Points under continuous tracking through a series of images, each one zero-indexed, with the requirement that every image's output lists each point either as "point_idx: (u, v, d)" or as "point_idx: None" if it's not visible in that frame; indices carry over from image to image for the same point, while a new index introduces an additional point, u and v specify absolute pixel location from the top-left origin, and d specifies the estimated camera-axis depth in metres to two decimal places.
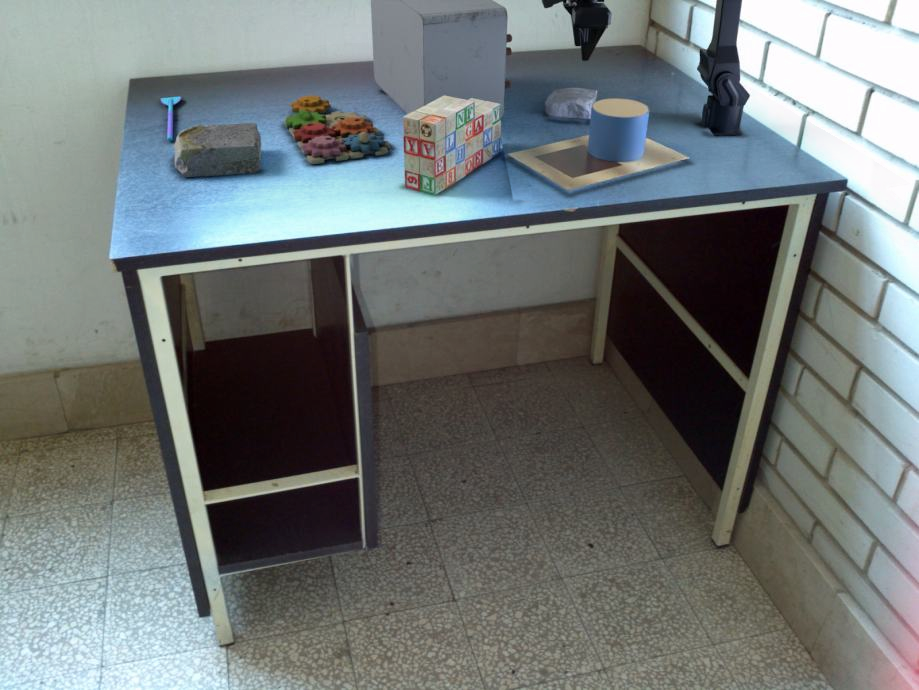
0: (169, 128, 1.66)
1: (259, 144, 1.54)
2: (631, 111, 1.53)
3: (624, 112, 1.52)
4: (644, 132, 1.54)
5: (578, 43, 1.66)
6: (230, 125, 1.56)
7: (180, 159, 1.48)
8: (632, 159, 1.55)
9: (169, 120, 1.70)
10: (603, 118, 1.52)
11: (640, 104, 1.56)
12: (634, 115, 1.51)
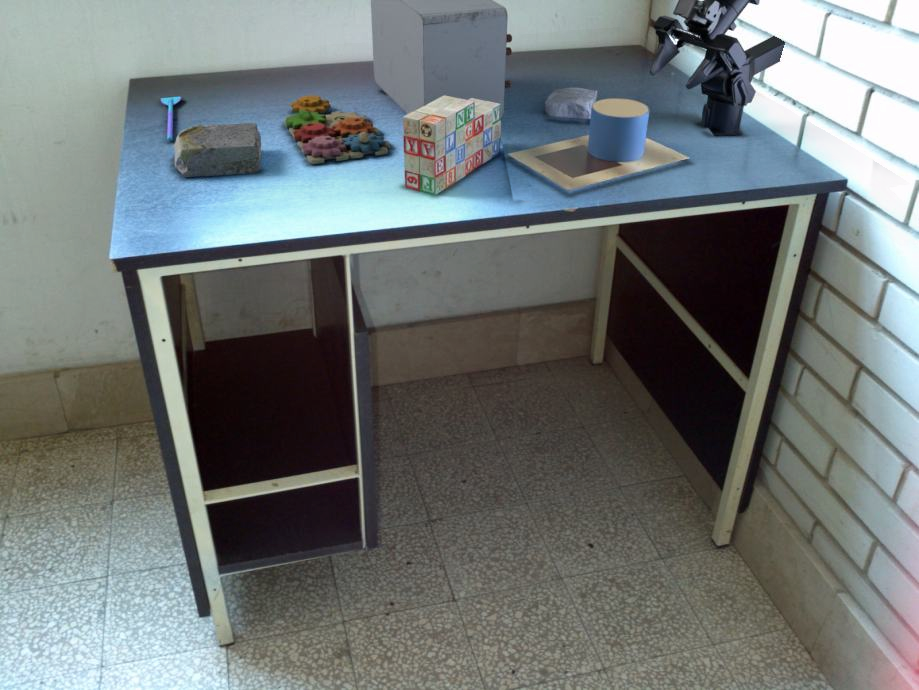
0: (169, 128, 1.66)
1: (259, 144, 1.54)
2: (631, 111, 1.53)
3: (624, 112, 1.52)
4: (644, 132, 1.54)
5: (654, 72, 1.61)
6: (230, 125, 1.56)
7: (180, 159, 1.48)
8: (632, 159, 1.55)
9: (169, 120, 1.70)
10: (603, 118, 1.52)
11: (640, 104, 1.56)
12: (634, 115, 1.51)
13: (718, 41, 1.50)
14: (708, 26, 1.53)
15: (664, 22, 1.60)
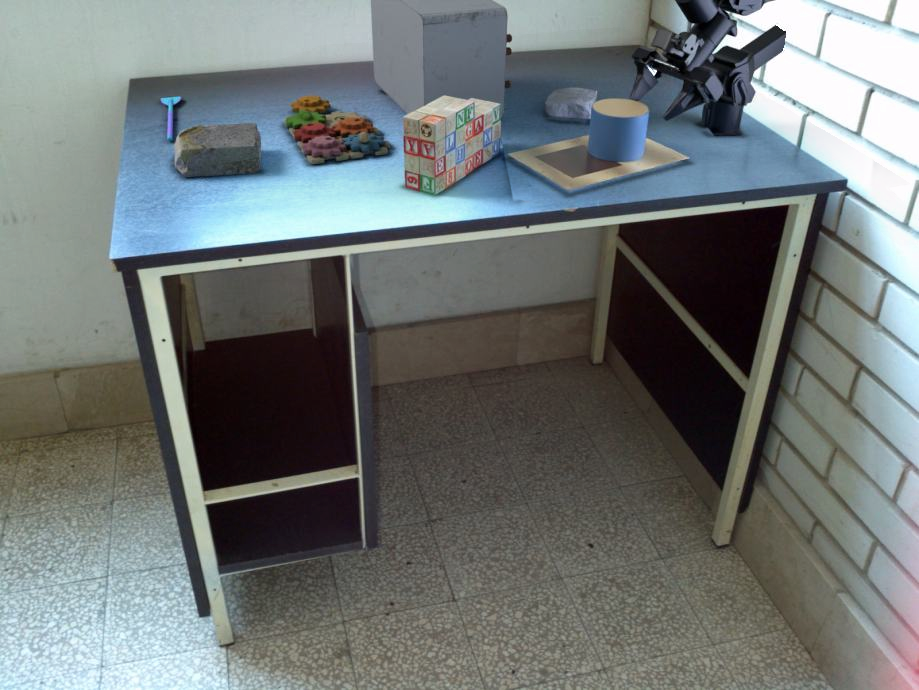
0: (169, 128, 1.66)
1: (259, 144, 1.54)
2: (631, 111, 1.53)
3: (624, 112, 1.52)
4: (644, 132, 1.54)
5: None
6: (230, 125, 1.56)
7: (180, 159, 1.48)
8: (632, 159, 1.55)
9: (169, 120, 1.70)
10: (603, 118, 1.52)
11: (640, 104, 1.56)
12: (634, 115, 1.51)
13: (695, 74, 1.51)
14: (685, 58, 1.53)
15: (643, 52, 1.60)
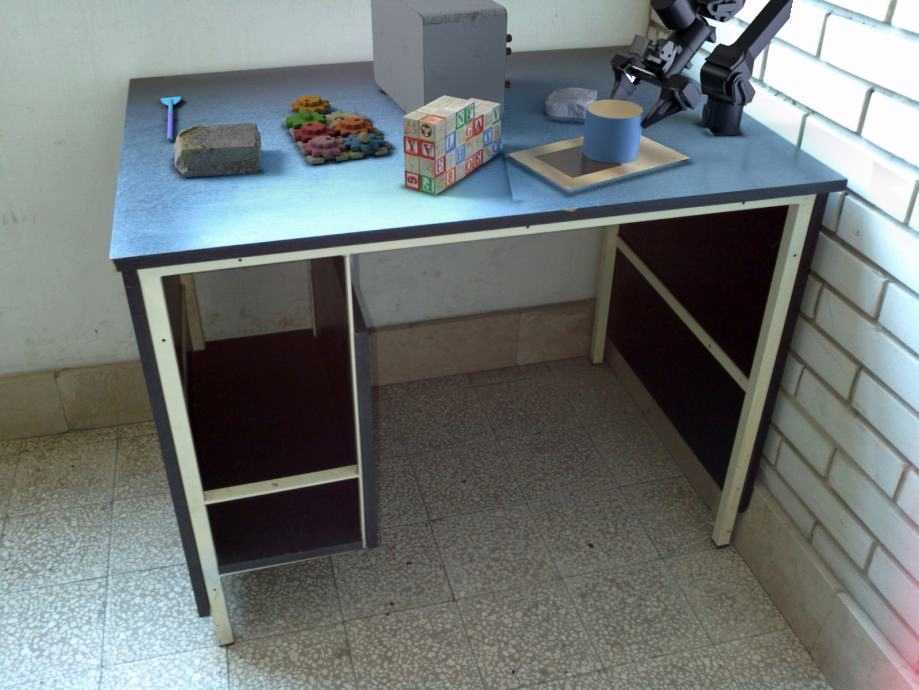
0: (169, 128, 1.66)
1: (259, 144, 1.54)
2: (626, 112, 1.52)
3: (619, 113, 1.52)
4: (639, 134, 1.54)
5: None
6: (230, 125, 1.56)
7: (180, 159, 1.48)
8: (627, 160, 1.55)
9: (169, 120, 1.70)
10: (598, 119, 1.51)
11: (635, 105, 1.55)
12: (629, 116, 1.51)
13: (672, 81, 1.49)
14: (663, 65, 1.51)
15: (621, 59, 1.58)
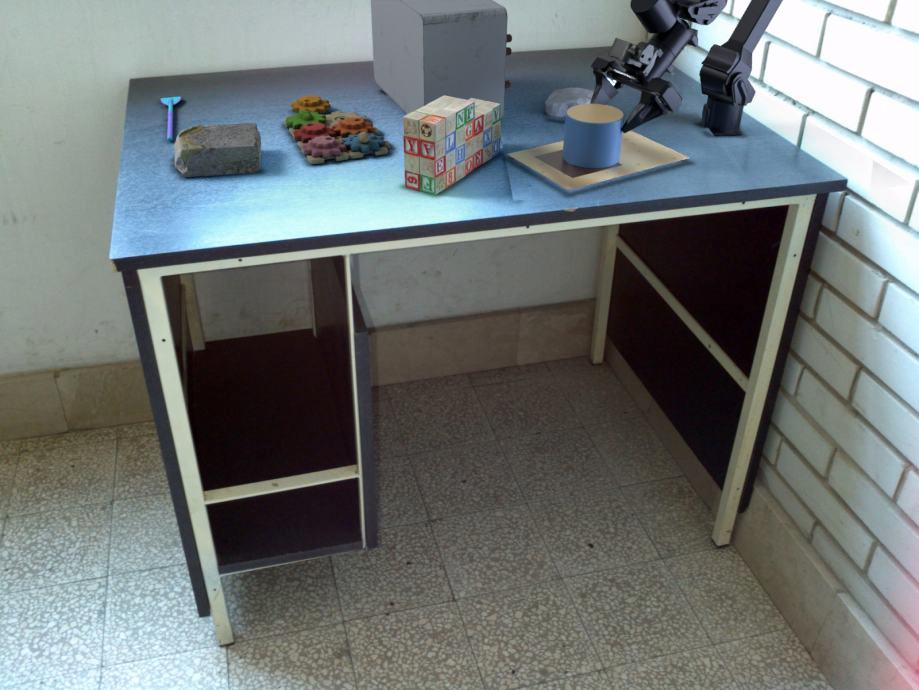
0: (169, 128, 1.66)
1: (259, 144, 1.54)
2: (605, 117, 1.50)
3: (599, 118, 1.50)
4: (619, 138, 1.52)
5: None
6: (230, 125, 1.56)
7: (180, 159, 1.48)
8: (607, 165, 1.53)
9: (169, 120, 1.70)
10: (577, 124, 1.49)
11: (615, 109, 1.53)
12: (608, 121, 1.49)
13: (652, 85, 1.47)
14: (643, 69, 1.50)
15: (601, 62, 1.56)
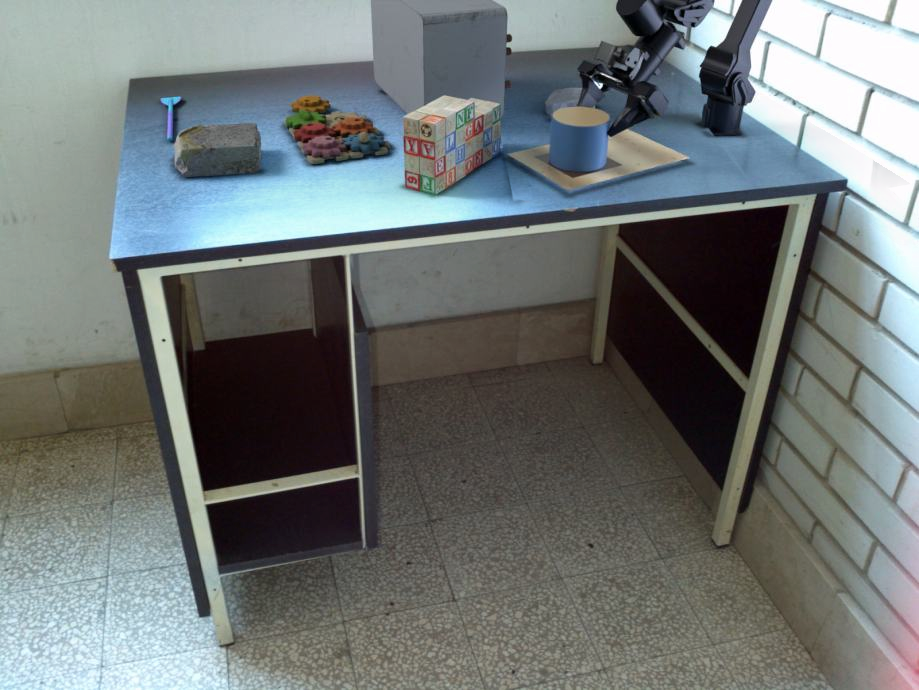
0: (169, 128, 1.66)
1: (259, 144, 1.54)
2: (591, 120, 1.49)
3: (585, 121, 1.49)
4: (606, 142, 1.51)
5: None
6: (230, 125, 1.56)
7: (180, 159, 1.48)
8: (593, 169, 1.51)
9: (169, 120, 1.70)
10: (563, 127, 1.48)
11: (602, 112, 1.52)
12: (594, 124, 1.48)
13: (638, 89, 1.46)
14: (630, 72, 1.48)
15: (588, 66, 1.55)
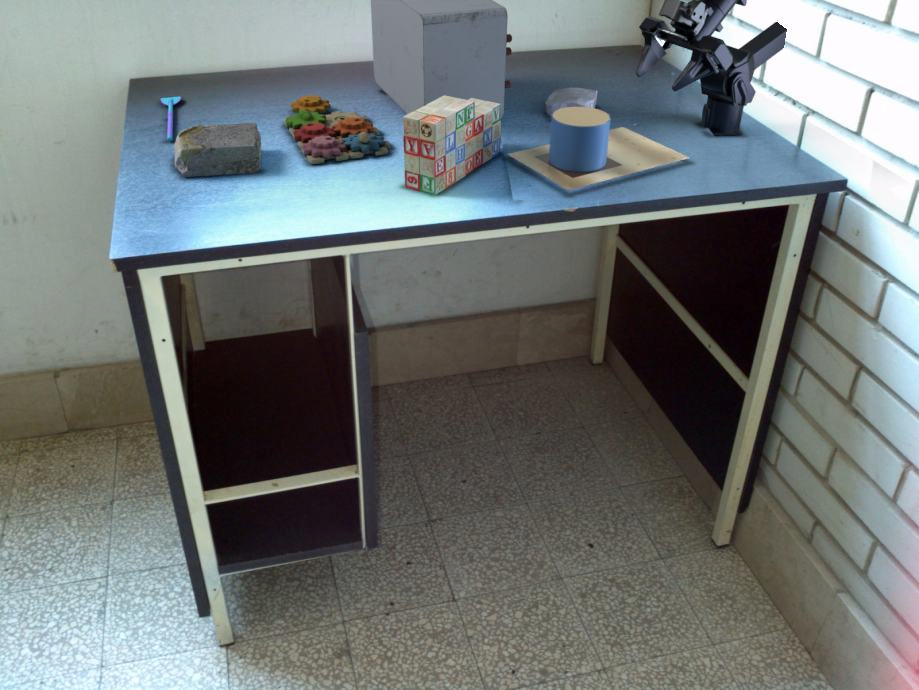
0: (169, 128, 1.66)
1: (259, 144, 1.54)
2: (592, 120, 1.49)
3: (585, 121, 1.49)
4: (606, 142, 1.51)
5: (640, 73, 1.59)
6: (230, 125, 1.56)
7: (180, 159, 1.48)
8: (593, 169, 1.51)
9: (169, 120, 1.70)
10: (563, 127, 1.48)
11: (602, 112, 1.52)
12: (594, 124, 1.48)
13: (704, 43, 1.49)
14: (694, 27, 1.51)
15: (650, 23, 1.58)
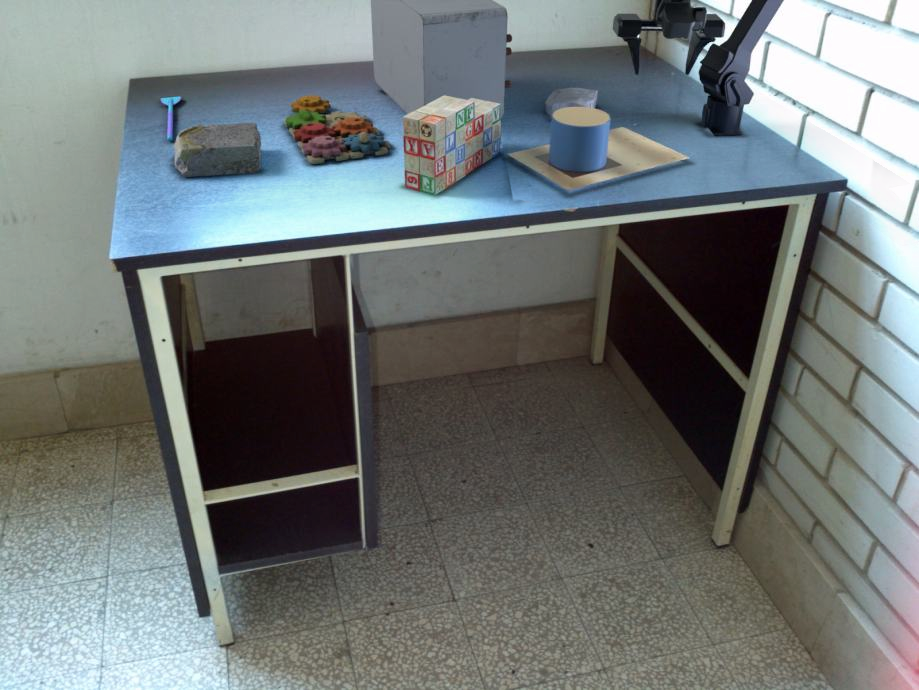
0: (169, 128, 1.66)
1: (259, 144, 1.54)
2: (592, 120, 1.49)
3: (585, 121, 1.49)
4: (606, 142, 1.51)
5: None
6: (230, 125, 1.56)
7: (180, 159, 1.48)
8: (593, 169, 1.51)
9: (169, 120, 1.70)
10: (563, 127, 1.48)
11: (602, 112, 1.52)
12: (594, 124, 1.48)
13: (710, 33, 1.54)
14: None
15: (633, 30, 1.53)
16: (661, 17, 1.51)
